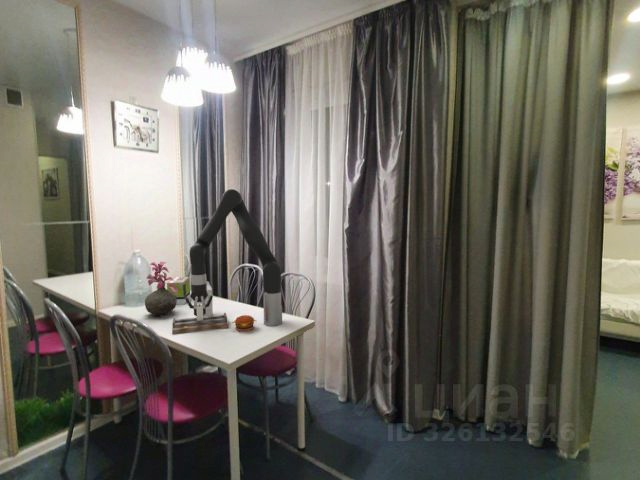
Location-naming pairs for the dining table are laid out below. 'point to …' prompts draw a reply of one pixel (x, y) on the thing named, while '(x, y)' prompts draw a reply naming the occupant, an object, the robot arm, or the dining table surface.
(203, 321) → the fader console
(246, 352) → the dining table surface
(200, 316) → the fader tab
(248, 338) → the dining table surface
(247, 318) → the hamburger
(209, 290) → the milk carton
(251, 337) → the dining table surface
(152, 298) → the vase
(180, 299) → the tea box
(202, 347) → the dining table surface
